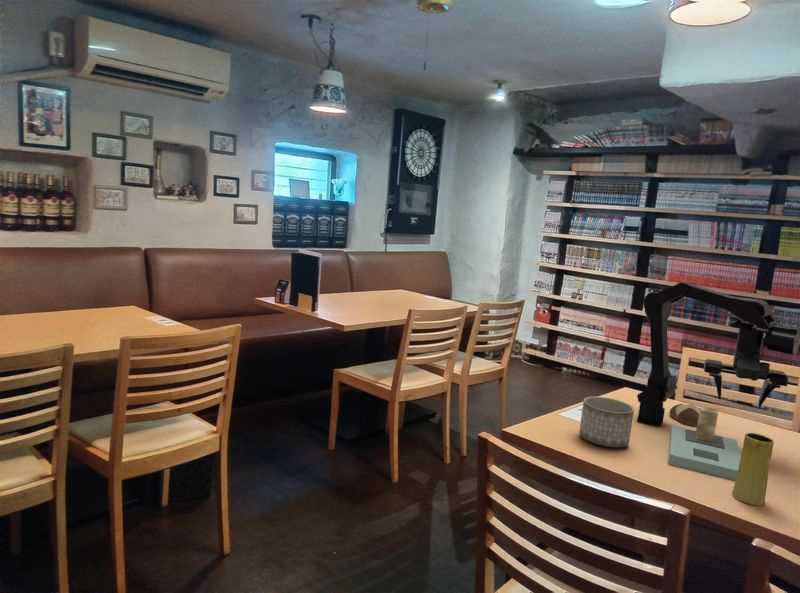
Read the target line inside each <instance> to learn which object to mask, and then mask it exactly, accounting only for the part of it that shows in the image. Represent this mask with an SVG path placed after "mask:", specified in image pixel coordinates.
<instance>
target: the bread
mask: <svg viewBox="0 0 800 593" xmlns="http://www.w3.org/2000/svg"><path fill="white" fill-rule="evenodd" d="M699 411H700V407H698V406H696V405H694V404H691V403H689V404H688V403H687V404H684V403H679V404H676V405H674V406H672V407H671V408H670V410H669V415H670V417H671V418H673V419H674V420H676V421H678V422H679V423H682V424H684V425H686V426H689V427H695V428H697V423H698V417H699Z"/></svg>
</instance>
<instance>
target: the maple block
mask: <svg viewBox="0 0 800 593" xmlns="http://www.w3.org/2000/svg"><path fill="white" fill-rule="evenodd" d="M699 408H700V411H699V417H698V423H697V427H696V429H695V431H696V439H700V440H705V441H709V442H713V440H714V435H716V434H715V433H716V427H717V422H718V416H719V411H718V409H717V408H712V407H706V406H702V405H701V406H700V407H699Z"/></svg>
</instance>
